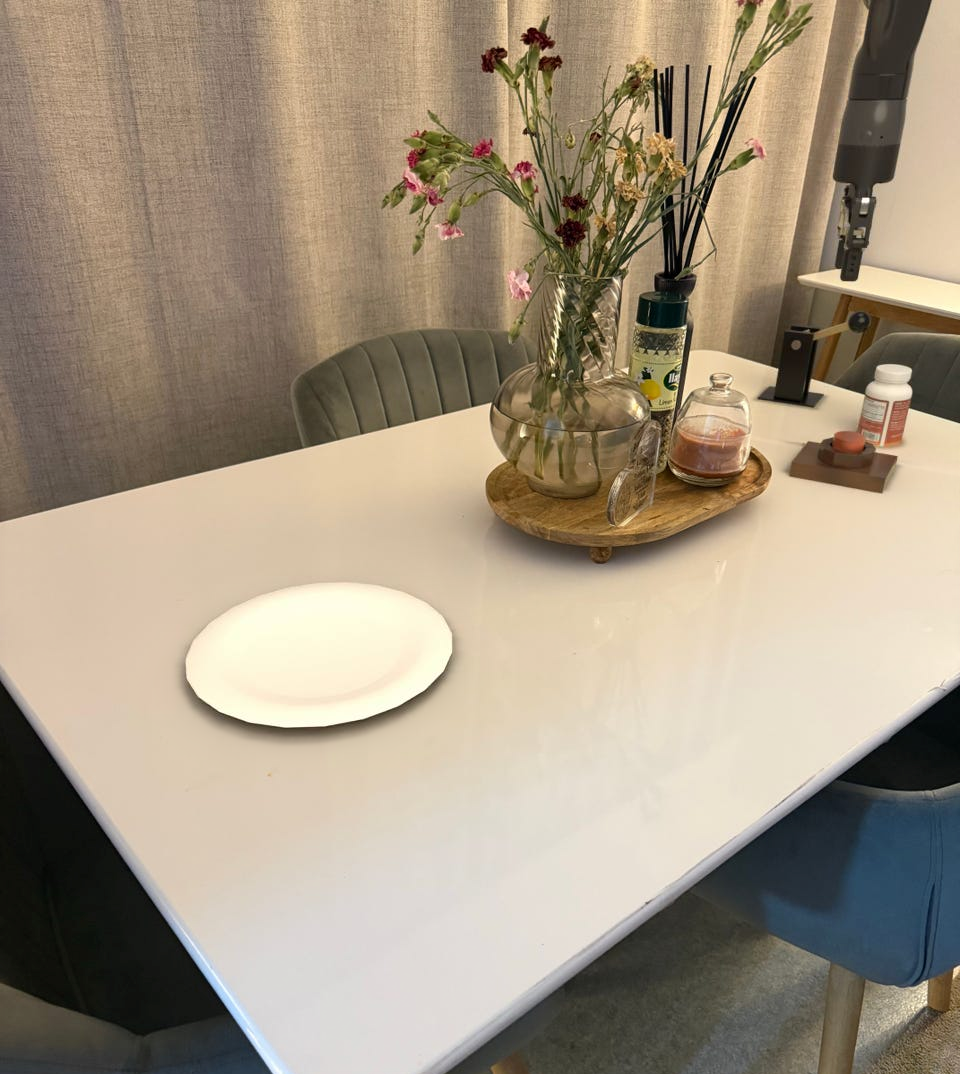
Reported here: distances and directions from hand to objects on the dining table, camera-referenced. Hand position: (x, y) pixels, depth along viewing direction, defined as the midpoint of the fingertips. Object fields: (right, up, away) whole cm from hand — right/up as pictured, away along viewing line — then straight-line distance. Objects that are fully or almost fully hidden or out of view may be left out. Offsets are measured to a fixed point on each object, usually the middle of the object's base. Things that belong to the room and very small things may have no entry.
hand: (845, 274), depth 125 cm
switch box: (-1, -27, -1) cm, 27 cm away
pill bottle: (+8, -21, +9) cm, 25 cm away
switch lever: (+5, -3, +17) cm, 18 cm away
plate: (-65, -52, -38) cm, 91 cm away
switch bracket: (+1, -11, +25) cm, 27 cm away
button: (-1, -24, -2) cm, 24 cm away
